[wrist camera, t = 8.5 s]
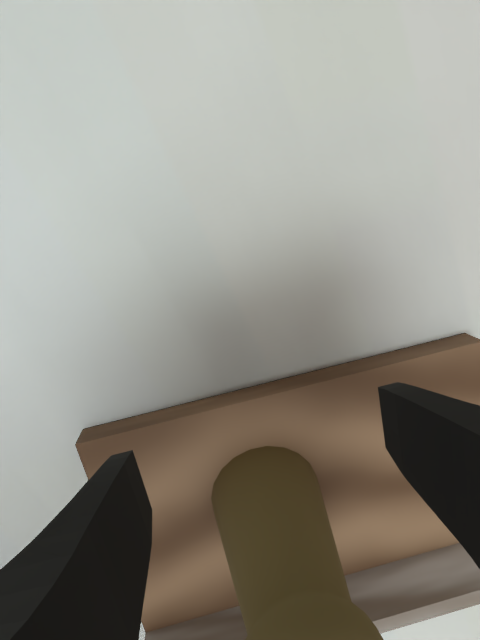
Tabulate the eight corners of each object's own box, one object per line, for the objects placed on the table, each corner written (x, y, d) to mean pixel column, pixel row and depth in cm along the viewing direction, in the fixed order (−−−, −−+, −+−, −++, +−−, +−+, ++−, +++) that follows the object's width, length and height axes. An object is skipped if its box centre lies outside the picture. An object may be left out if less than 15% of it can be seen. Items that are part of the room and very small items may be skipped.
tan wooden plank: (476, 531, 27) (532, 592, 23) (153, 624, 25) (146, 707, 21) (464, 333, 23) (528, 360, 19) (82, 429, 22) (56, 482, 17)
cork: (196, 468, 21) (203, 716, 11) (303, 430, 22) (412, 637, 11) (230, 553, 23) (265, 841, 12) (329, 518, 23) (446, 770, 13)
